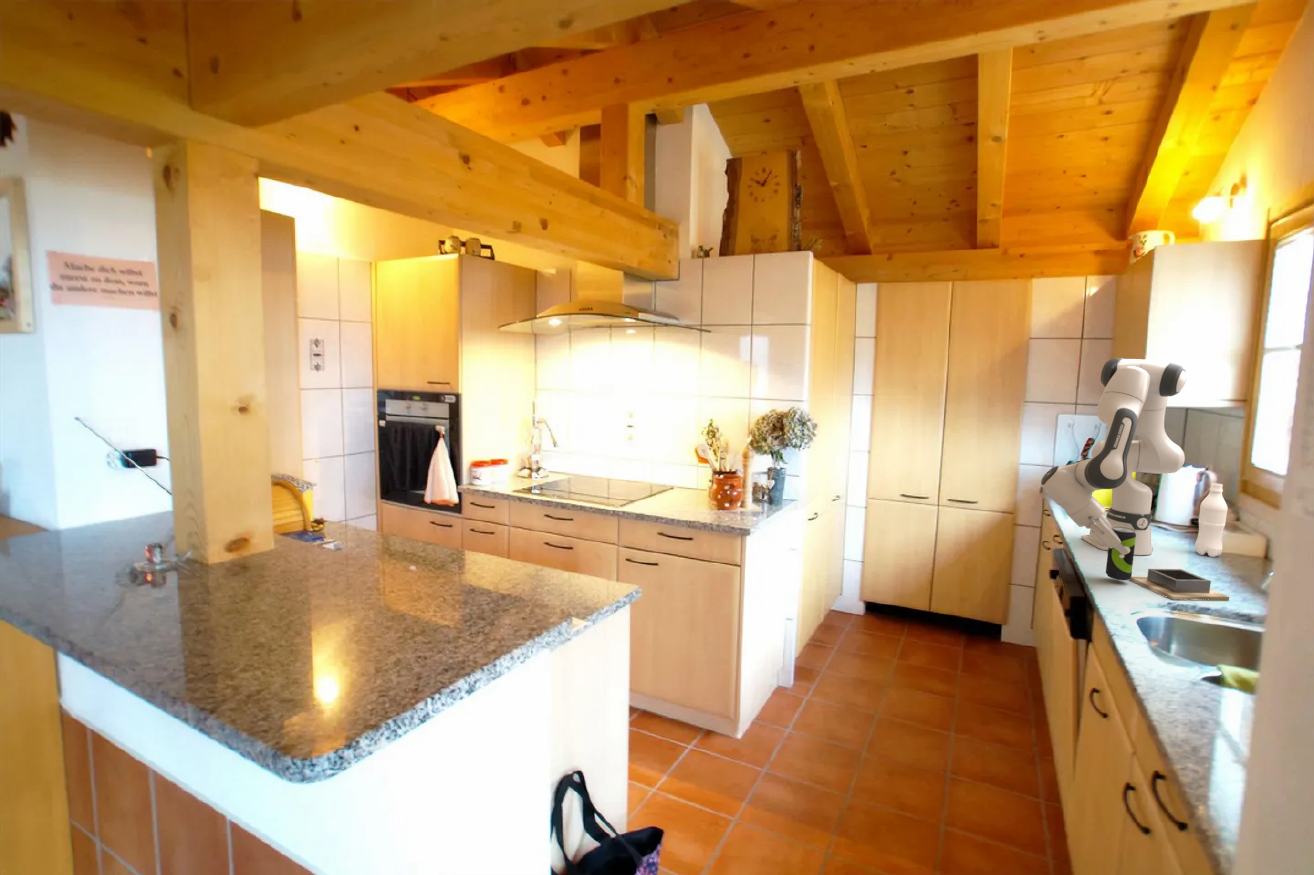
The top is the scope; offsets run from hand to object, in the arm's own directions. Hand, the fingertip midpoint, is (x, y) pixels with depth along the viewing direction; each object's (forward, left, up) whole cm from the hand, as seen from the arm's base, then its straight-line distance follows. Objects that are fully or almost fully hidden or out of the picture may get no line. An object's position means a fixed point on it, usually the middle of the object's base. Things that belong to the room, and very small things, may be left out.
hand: (1123, 549), depth 188 cm
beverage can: (0, 0, -9) cm, 9 cm away
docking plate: (+6, +12, -10) cm, 17 cm away
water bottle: (-28, +52, -10) cm, 60 cm away
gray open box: (+6, +12, -10) cm, 17 cm away
